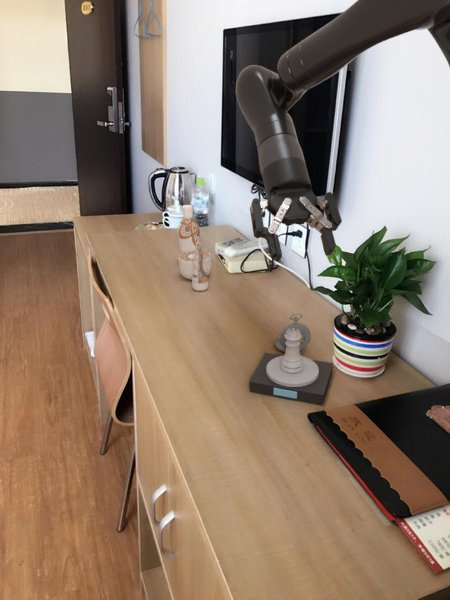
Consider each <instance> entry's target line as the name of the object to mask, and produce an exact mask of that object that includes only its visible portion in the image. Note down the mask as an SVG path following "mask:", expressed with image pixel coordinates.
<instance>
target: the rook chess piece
mask: <svg viewBox="0 0 450 600" xmlns="http://www.w3.org/2000/svg"><path fill="white" fill-rule="evenodd" d="M284 337H285V338H286V340H287V341H286V342H285V344H286V352H284V354H283V355H284V356H283V358H282V359H281V368H282V369H283V370H284V371H285V372H287V373H293V374H294V373H298V372H300V371H301V370H302V369H303V368H304V365H303V362H304V361H303V359H302V358H301V356H302V355H301V353H300V352H301V351H299V345H300V342H299V340H300V339H301V338H302V335H301V334H300V331H299V330H298V329H297V330H296V331H295V328H292V331H291V329H288V331H286V334H285V335H284Z"/></svg>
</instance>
